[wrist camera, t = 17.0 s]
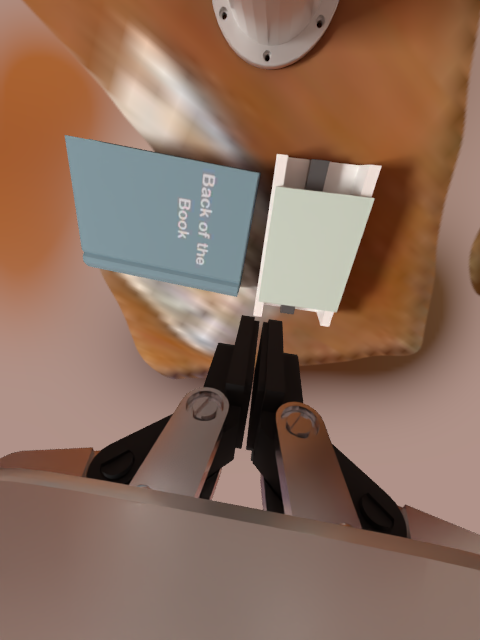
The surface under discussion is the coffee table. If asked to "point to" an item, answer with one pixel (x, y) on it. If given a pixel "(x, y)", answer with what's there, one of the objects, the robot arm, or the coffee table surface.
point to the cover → (312, 247)
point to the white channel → (317, 179)
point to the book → (162, 214)
